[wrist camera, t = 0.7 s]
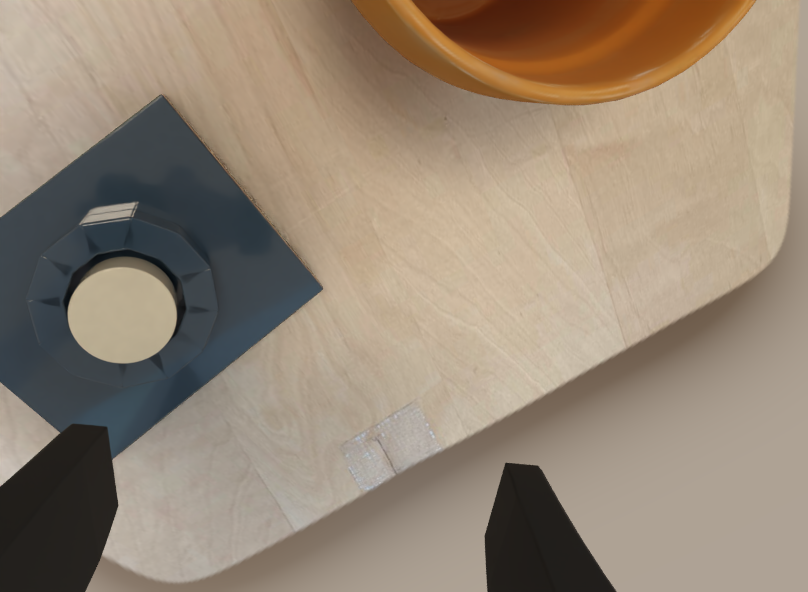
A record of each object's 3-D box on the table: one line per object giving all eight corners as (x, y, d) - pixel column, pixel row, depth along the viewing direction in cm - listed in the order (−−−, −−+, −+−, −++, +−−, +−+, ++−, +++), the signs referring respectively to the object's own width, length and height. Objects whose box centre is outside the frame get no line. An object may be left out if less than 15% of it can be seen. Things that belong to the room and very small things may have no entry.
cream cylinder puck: (123, 365, 26) (119, 383, 25) (52, 298, 25) (42, 312, 23) (197, 306, 26) (198, 320, 25) (130, 236, 25) (127, 246, 23)
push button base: (107, 443, 31) (96, 491, 27) (-81, 280, 26) (-124, 311, 23) (315, 276, 31) (332, 301, 28) (163, 93, 27) (160, 93, 24)
